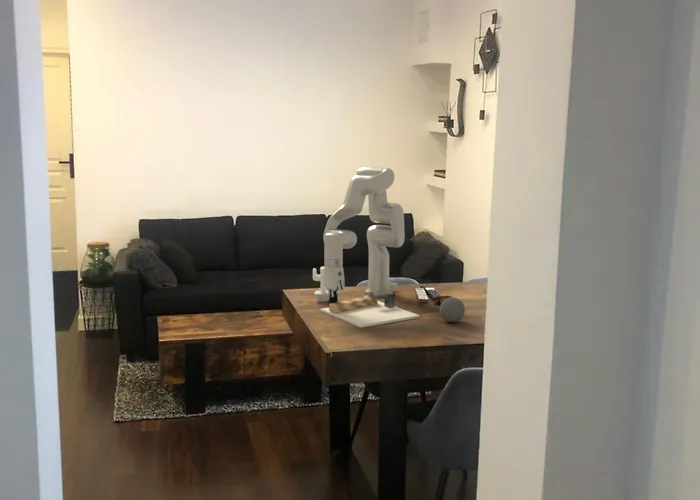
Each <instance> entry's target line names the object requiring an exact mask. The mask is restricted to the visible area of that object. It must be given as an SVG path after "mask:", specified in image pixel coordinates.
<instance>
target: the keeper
mask: <svg viewBox="0 0 700 500" xmlns="http://www.w3.org/2000/svg"><path fill="white" fill-rule="evenodd" d="M373 298H374V299H377V300H378V301H380V300H384V302H383V303H384V307H387V308H391V307H395V293H394V292H393V291H392V292H386V293H382V294H375V295H373Z"/></svg>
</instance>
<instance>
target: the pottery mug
mask: <svg viewBox="0 0 700 500" xmlns="http://www.w3.org/2000/svg"><path fill="white" fill-rule="evenodd" d="M450 297H453V296H452V295H442V296H438V297H436V298H435V301H434V303H433V306H438V307H440V305H441V303H442V302H443V301H444V300H445V299H447V298H450ZM438 312H439V315H440V316H441V314H440V309H439V310H438Z"/></svg>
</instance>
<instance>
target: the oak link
mask: <svg viewBox="0 0 700 500" xmlns="http://www.w3.org/2000/svg"><path fill="white" fill-rule="evenodd" d="M373 295H374V291H368V294H365V295H364V296H361V297H356V298H352V299H347V300H342V301H341V300H340V301H338V302H336V303H331V304H329V303H328V308H329V311H331V312H334V313H337V312H342V311H346V310H351V309H355V308H360V307H364V306H369V305H376V304H378V301H379V300H377V299H374V298H373Z"/></svg>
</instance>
